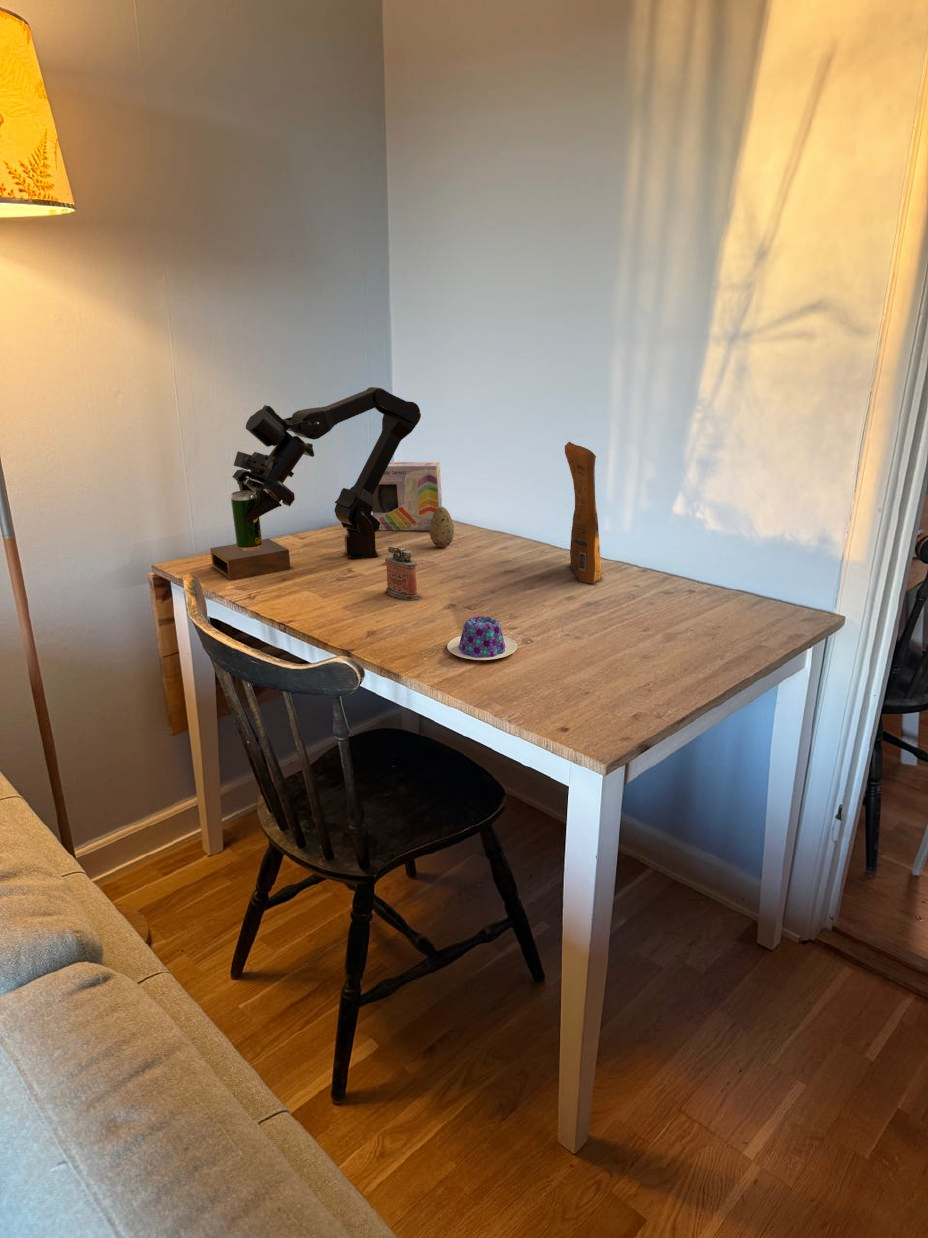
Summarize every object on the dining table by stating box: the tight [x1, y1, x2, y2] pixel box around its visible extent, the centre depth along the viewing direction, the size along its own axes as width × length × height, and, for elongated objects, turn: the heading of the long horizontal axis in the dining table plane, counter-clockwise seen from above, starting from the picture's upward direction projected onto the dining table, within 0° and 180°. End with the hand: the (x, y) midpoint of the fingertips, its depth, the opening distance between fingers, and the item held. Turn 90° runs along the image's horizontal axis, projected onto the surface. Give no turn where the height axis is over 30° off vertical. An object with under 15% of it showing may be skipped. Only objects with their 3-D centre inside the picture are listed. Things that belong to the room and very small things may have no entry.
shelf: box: [210, 538, 291, 581], centre depth 187 cm, size 14×12×4 cm
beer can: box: [230, 490, 263, 551], centre depth 176 cm, size 5×5×12 cm
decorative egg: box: [429, 506, 455, 548], centre depth 201 cm, size 6×6×10 cm
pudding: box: [446, 615, 518, 661], centre depth 141 cm, size 12×12×5 cm
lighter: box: [384, 545, 419, 601], centre depth 167 cm, size 8×3×10 cm, turn 47°
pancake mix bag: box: [564, 441, 602, 585], centre depth 177 cm, size 7×19×28 cm, turn 3°
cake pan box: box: [371, 461, 443, 531], centre depth 216 cm, size 19×5×18 cm, turn 80°
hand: (240, 518), depth 175 cm, fingers closed on beer can, 5 cm apart
